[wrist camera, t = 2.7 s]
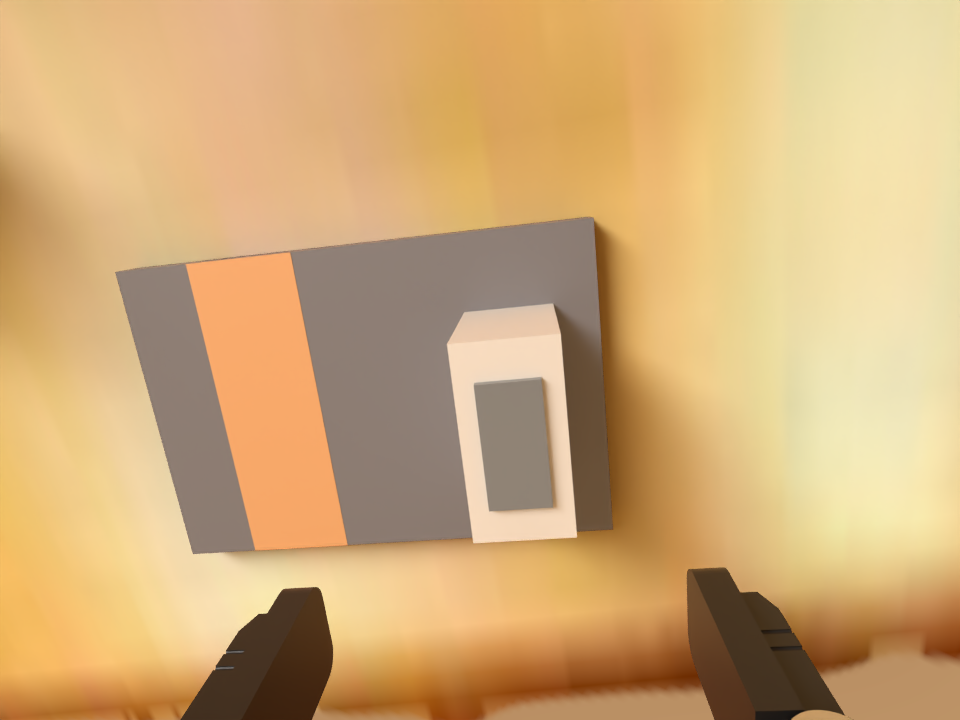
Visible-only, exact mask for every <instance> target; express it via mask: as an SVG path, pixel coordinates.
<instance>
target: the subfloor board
mask: <svg viewBox="0 0 960 720" xmlns="http://www.w3.org/2000/svg"><path fill="white" fill-rule="evenodd" d="M115 273H116V276H117V280H118V284H119V287H120V291H121V294H122V298H123V302H124V305H125V309H126V313H127V316H128V320H129V324H130V327H131V331H132V334H133V338H134V342H135V345H136V349H137V353H138V356H139V360H140V363H141V367H142V371H143V374H144V378H145V382H146V385H147V389H148V393H149V396H150V400H151V403H152V407H153V411H154V414H155V418H156V422H157V425H158V429H159V432H160V436H161V440H162V443H163V447H164V451H165V454H166V458H167V461H168V465H169V469H170V472H171V476H172V480H173V483H174V487H175V491H176V494H177V498H178V501H179V505H180V509H181V512H182V516H183V520H184V523H185V527H186V530H187V534H188V538H189V541H190V545H191V549H192V552H193V554H201V553H218V552H235V551H252V550H255V551H256V550H273V549H290V548H307V547H324V546H342V545H355V544H372V543H389V542H407V541H424V540H441V539H458V538H473V537H472V530H471V522H470V515H469V507H468V500H467V492H466V485H465V477H464V469H463V462H462V454H461V447H460V439H459V432H458V424H457V417H456V409H455V402H454V394H453V387H452V379H451V371H450V364H449V356H448V349H447V343H448V341H449V340H450V338H451V336H452V334H453V332H454V330H455V328H456V327H457V325H458V323H459V321H460V319H461V317H462V316H463V314H464V312H472V311H482V310H492V309H502V308H512V307H522V306H533V305H543V304H553V305H554V309H555V313H556V317H557V321H558V325H559V329H560V333H561V343H562V356H563V368H564V381H565V393H566V405H567V418H568V430H569V443H570V455H571V468H572V480H573V493H574V505H575V518H576V530H577V532H578V531H595V530H612V529H613V523H612V507H611V491H610V474H609V458H608V442H607V426H606V410H605V394H604V378H603V361H602V345H601V329H600V313H599V297H598V281H597V265H596V249H595V232H594V218H592V217H583V218H575V219H566V220H557V221H548V222H539V223H531V224H522V225H513V226H504V227H495V228H487V229H478V230H469V231H460V232H452V233H443V234H434V235H425V236H416V237H408V238H399V239H390V240H381V241H372V242H364V243H355V244H346V245H337V246H328V247H320V248H311V249H302V250H293V251H284V252H276V253H267V254H258V255H249V256H240V257H232V258H223V259H214V260H205V261H197V262H188V263H179V264H170V265H161V266H153V267H144V268H135V269H130V270H124V271H119V272H115Z"/></svg>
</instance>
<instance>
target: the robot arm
mask: <svg viewBox="0 0 960 720" xmlns="http://www.w3.org/2000/svg"><path fill="white" fill-rule="evenodd" d="M687 606H688V636H689V644H690V649H691V654H692V658H693V662H694V665H695V668H696V670H697V673H698V676H699V679H700V681H701V684H702V687H703V689H704V692H705V695H706V698H707V700H708V703H709V706H710V709H711V711H712V714H713V717H714V719H715V720H853V719H851V718H849V717H847V716H845V715H844V713H843V711H842V710H841V708H840V707H839V705H838V703H837V702H836V700H835V699H834V697H833V696H832V694H831V692H830V691H829V689H828V688H827V686H826V684H825V682H824V681H823V679H822V678H821V676H820V674H819V673H818V671H817V670H816V668H815V666H814V665H813V663H812V662H811V660H810V658H809V657H808V655H807V654H806V652H805V650H802V646H801V644H800V642H799V641H798V639H797V638H796V636H795V634H794V633H792V631H791V628H790V626H789V625H788V623H787V621H786V620H785V618H784V617H783V615H782V613H781V612H780V610H779V609H778V608H777V607H776V606H774V605H773V604H772V603H771V602H769V601H768V600H767V599H766V598H764V597H763V596H762V595H760V594H759V593H758V592H745V593H740V592H739V590H738V588H737V586H736V584H735V582H734V581H733V579H732V577H731V575H730V573H729V572H728V570H727V569H726V568H705V569H689V570H688V572H687ZM332 662H333V645H332V640H331V635H330V630H329V625H328V621H327V616H326V611H325V606H324V601H323V597H322V593H321V591H320V589H319V588H317V587H311V588H291V589H284V590H282V591H281V592H280V594H279V595H278V597H277V599H276V600H275V602H274V604H273V605H272V607H271V608H270V610H269V612H268V613H267V614H258V615H257V616H256V617H255V618H254V619H253V620H251V621H250V622H249V623H248V624H247V625H246V626H244V627H243V628H242V629H241V630H240V631H239V632H238V633H237V635H236V636H235V638H234V639H233V641H232V642H231V644H230V645H229V647H228V648H227V650H226V654H224V655H223V656H222V658H221V659H220V661H219V662H218V664H217V665H216V669H215V670H213V671H212V673H211V674H210V676H209V677H208V679H207V680H206V682H205V683H204V685H203V686H202V688H201V689H200V691H199V692H198V694H197V696H196V697H195V699H194V700H193V702H192V703H191V705H190V706H189V708H188V709H187V711H186V712H185V714H184V715H183V717H182V718H181V720H312V718H313V715H314V713H315V711H316V708H317V706H318V703H319V701H320V698H321V696H322V693H323V691H324V688H325V686H326V684H327V681H328V679H329V676H330V673H331V669H332Z"/></svg>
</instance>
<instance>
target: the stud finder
mask: <svg viewBox="0 0 960 720" xmlns="http://www.w3.org/2000/svg"><path fill="white" fill-rule="evenodd" d="M447 349H448V356H449V364H450V371H451V379H452V387H453V394H454V402H455V409H456V417H457V424H458V432H459V439H460V447H461V454H462V462H463V469H464V477H465V485H466V492H467V500H468V507H469V515H470V522H471V530H472V537H473V543H488V542H505V541H523V540H540V539H558V538H575V537H577V530H576V518H575V505H574V493H573V480H572V468H571V455H570V443H569V430H568V418H567V405H566V393H565V381H564V368H563V356H562V343H561V333H560V329H559V325H558V321H557V317H556V313H555V309H554V305H553V304H543V305H533V306H522V307H512V308H502V309H492V310H482V311H472V312H464V314H463V316H462V317H461V319H460V321H459V323H458V325H457V327H456V328H455V330H454V332H453V334H452V336H451V338H450V340H449V341H448V343H447Z"/></svg>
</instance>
